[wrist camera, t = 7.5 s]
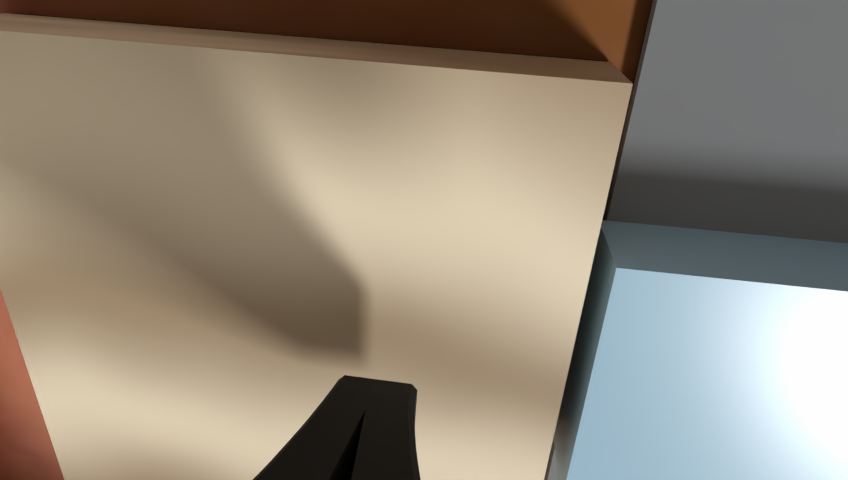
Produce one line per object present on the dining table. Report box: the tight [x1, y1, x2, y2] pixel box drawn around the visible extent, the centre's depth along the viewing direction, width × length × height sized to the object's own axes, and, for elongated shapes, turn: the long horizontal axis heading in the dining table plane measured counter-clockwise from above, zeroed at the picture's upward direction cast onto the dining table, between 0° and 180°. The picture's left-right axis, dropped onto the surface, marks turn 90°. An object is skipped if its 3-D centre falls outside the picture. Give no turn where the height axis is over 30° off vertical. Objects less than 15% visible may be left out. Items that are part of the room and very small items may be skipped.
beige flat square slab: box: [0, 13, 633, 480], centre depth 13 cm, size 12×12×2 cm
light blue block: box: [553, 220, 848, 480], centre depth 11 cm, size 9×6×2 cm, turn 87°
